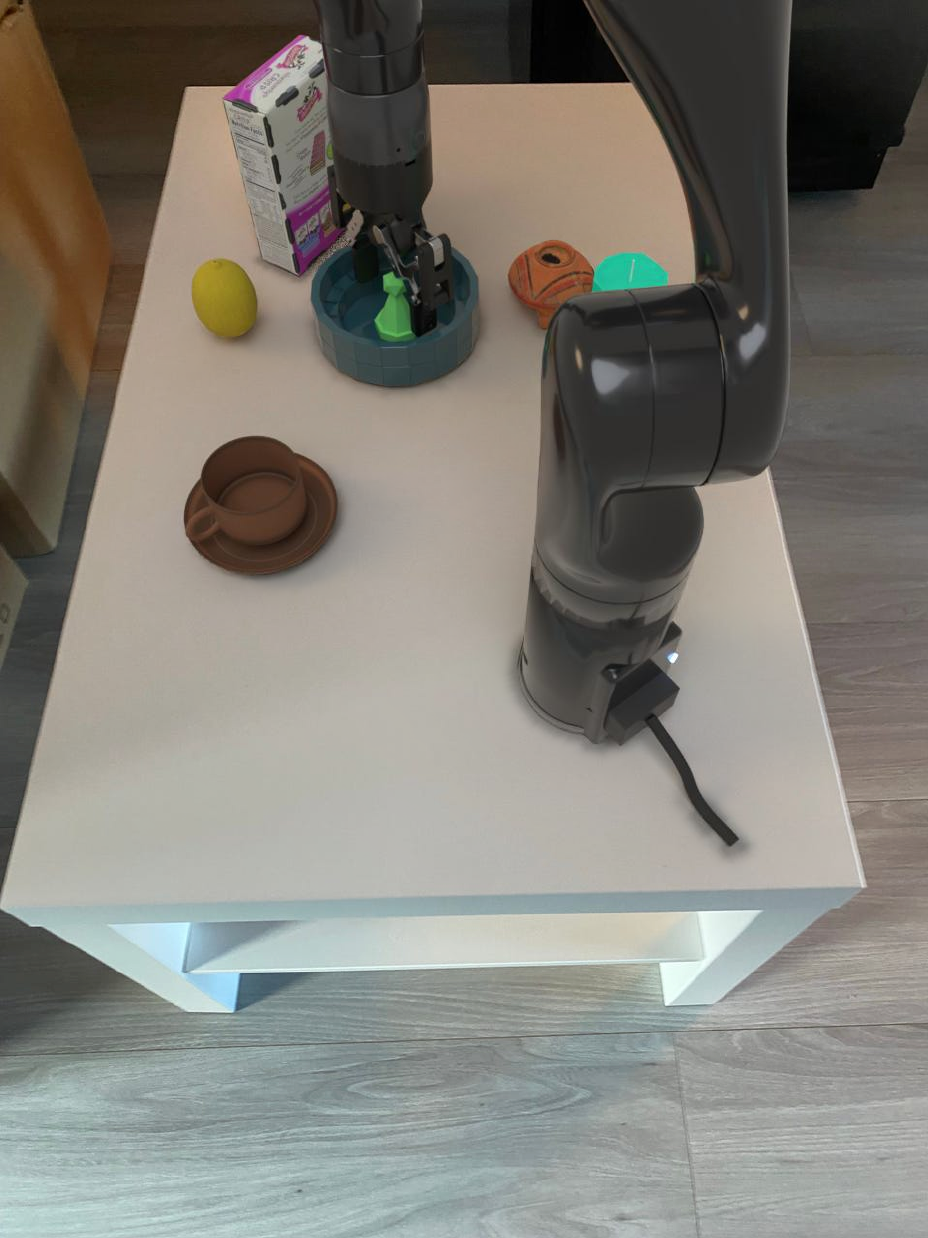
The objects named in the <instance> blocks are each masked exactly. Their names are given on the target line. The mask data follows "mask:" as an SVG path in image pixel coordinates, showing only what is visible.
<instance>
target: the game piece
mask: <svg viewBox="0 0 928 1238" xmlns="http://www.w3.org/2000/svg"><path fill="white" fill-rule="evenodd" d="M383 286H384V291H386V292H388V293H389V296H388V298H387V301H386V304H385V306H384V308H383V309H382V310H381V311H380V313H379V314H378V316H377V317H376V319H375V327H376V329H377V331H378V333H379V335H380V337H381V339H384V340H388V341H408V340H412V339H415V338H416V335H415V334H414V333H413V332H412V331H411V322H410V307H409V304H408V302H407V301H406V299H405V297H404V295H403V293H404V292H406V291H407V290H406V288H405V285H404V283H403V281H402V280H400V279H397V278H396V277H395V276H394V274H393V271H392V272H390V273H388V274H386V275H384V276H383Z"/></svg>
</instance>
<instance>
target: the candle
mask: <svg viewBox="0 0 928 1238" xmlns="http://www.w3.org/2000/svg"><path fill="white" fill-rule="evenodd" d="M668 280H669V273H668V272H667V270H665V269H664V268H663V267H662V266H661V265H660V264H659V263H658V262H657V261H655V260H654V259H652V258H651V257H649V256H648V255H647V254H646V253H643V252H625V251H623V252H620V253H617V254H613V255H610V256H609V255H608V256H606V257H605V258H604V259H603V260H602V261H601V262H600V263H599V264H598V265H597V266H596V267H595V268H594V279H593V287H592V292H599V291H610V290H620V289H622V290H624V289H632V288H643V287H654V286H665V285H668Z"/></svg>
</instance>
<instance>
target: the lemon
mask: <svg viewBox="0 0 928 1238" xmlns="http://www.w3.org/2000/svg"><path fill="white" fill-rule="evenodd" d="M190 292H191V301H192V302H191V303H192V305H193V308H194V311H195V315H196V316H197V318H198V320H199V322H201V324H202V325H203V326H204V327H205V329H206V330H208V331H209V332H211V333H212V334H214V335H216V336H219V337H222V338H236V337H239V336H242V335H244V334H245V333H246V332H248V331H249V330H250V329H251V328H252V326H253V325H254V323H255V322H256V319H257V315H258V309H259V304H258V297H257V292H256V288H255V285H254V283H253V281H252V280H251V278H250V276H249V274H248V273H247V272H246V270H245V269H244V268H243V267H242V266H240V265H239V263H237V262H234V261H233V260H231V259H228V258H227V259H226V258H221V257H219V258H211V259H209V260H207V261H205V262H203V263H202V264H200V266H199V267H198V268H197V269H196V271H195V272H194V274H193V277H192V280H191V291H190Z"/></svg>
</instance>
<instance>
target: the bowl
mask: <svg viewBox="0 0 928 1238" xmlns="http://www.w3.org/2000/svg"><path fill="white" fill-rule="evenodd" d="M377 252H378V262H379V275H378V276H377V277H376V278H374V279H372V280H370V281H368V282H366V283H365V284H360V283H359V282H358V281H357V280H356V279H355V273H354V266H353V258H352V250H351V247H350V246H349V245H348V244H347V245H345V246H343V247H340V248H339V249H337V250H336V251H335V252H333V253H332V254H331V255H330V256H329V257H328V258H327V259H325V260H324V261H323V262H322V263H321V264H320V265H319V268H318V269H317V270H316V273H315V274H314V276H313V278H312V280H311V287H310V305H311V310H312V316H313V321H314V327H315V332H316V333H315V334H316V338H317V341H318V343H319V346H320V348H321V351H322V354H323V355H324V356H325V358H326V359H327V360H328V361H329V362H330V363H331V364H332V365H333V366H334V367H335V368H337V370H339V371H340V372H342V373H344V374H345V375H349V376H350V377H352V378H354V379H356V380H358V381H360V382H365V383H370V384H374V385H378V386H384V387H391V386H392V387H393V386H396V387H397V386H399V387H400V386H412V385H417V384H420V383H424V382H427V381H431V380H435V379H438V378H439V377H441V376H443V375H445V374H446V373H448V372H450V371H452V370H453V369H455V368H457V367H459V365H460V364H461V363H462V362H463V361H464V360H465V359H466V358H467V357H468V356H469V355H470V354H471V353H472V351H473V349H474V347H475V344H476V341H477V339H478V336H479V334H480V285H479V284H480V283H479V277H478V275H477V273H476V271H475V269H474V266H473V265H472V263H471V262H470V260H469V259H468V258H467V257H466V256H464V255H463V254H462V253H461V252H460V251H459V250H458V249H456V248H455V247H454V246H452V245H451V252H452V268H453V284H454V299H452V300H450V301H449V302H446V303H444V304H442V305H440V306H438V307H437V326H436V328H434V329H433V330H431V331H430V332H428V333H426V334H424V335H422V336H420V337H417V336H416V338H415V339H412V340H408V341H388V340H384V339H381V337H380V335H379V333H378V331H377V329H376V327H375V319H376V317H377V316H378V314H379V313H380V311H381V310H382V309H383V308H384V306H385V304H386V301H387V298H388V296H389V293H388V292H386V291H384V286H383V276H384V275H386V274H388V273H390V272H392V269H391V266H390V264H389V262H388V259H387V257H386V255H385V254H384V253H383V251H382V250H381V249H380V248H378V247H377ZM416 255H417V248H416V249H415V250H414V251H413V252H412V253H411V254H409V255H407V256H405V257H403V258H401V262H402V264H403V265H404V266H406V265H408V264H410V263H412V262H414V261H416V260H415V256H416ZM414 280H415V282H416V285H417V287H418V288H419V287H420V278H419V272H417V273H415V274H414ZM439 285H440V283H439ZM440 287H441V285H440ZM403 295H404V297H405V299H406V301H407V302H408V304H409V300H410V298H409V295H408V293H407V291H406V292H404V293H403Z"/></svg>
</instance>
